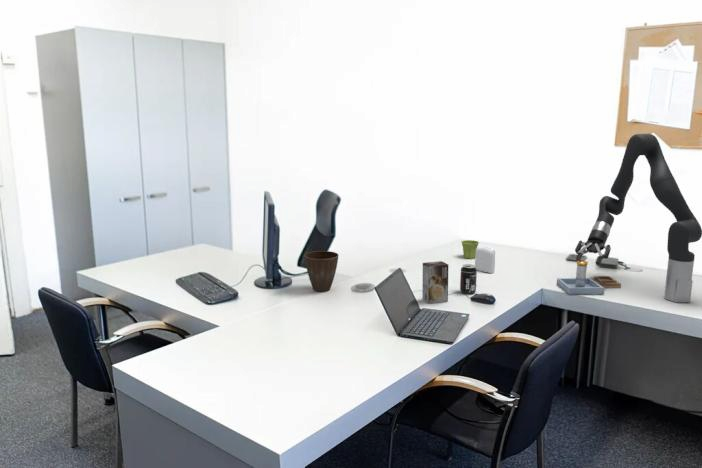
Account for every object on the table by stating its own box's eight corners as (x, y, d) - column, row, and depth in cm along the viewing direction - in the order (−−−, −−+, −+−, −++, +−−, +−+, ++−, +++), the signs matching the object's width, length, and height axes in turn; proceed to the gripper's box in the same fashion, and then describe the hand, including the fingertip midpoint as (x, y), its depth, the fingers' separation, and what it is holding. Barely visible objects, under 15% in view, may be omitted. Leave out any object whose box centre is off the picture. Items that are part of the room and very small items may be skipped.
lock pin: (587, 289, 251) (589, 263, 249) (576, 289, 251) (579, 263, 249) (583, 286, 255) (585, 260, 253) (573, 286, 255) (575, 260, 253)
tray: (603, 294, 246) (604, 288, 245) (569, 294, 246) (569, 288, 245) (589, 284, 261) (590, 278, 260) (556, 284, 261) (557, 278, 260)
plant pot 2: (457, 256, 313) (458, 240, 311) (472, 254, 316) (473, 239, 314) (465, 260, 304) (466, 244, 303) (481, 259, 307) (482, 243, 305)
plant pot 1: (332, 283, 265) (331, 249, 262) (343, 292, 251) (343, 257, 248) (301, 286, 260) (300, 252, 256) (311, 296, 246) (310, 260, 243)
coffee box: (441, 297, 244) (442, 260, 241) (448, 301, 238) (449, 264, 235) (421, 299, 241) (422, 262, 238) (427, 304, 235) (428, 266, 232)
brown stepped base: (620, 287, 255) (621, 281, 255) (598, 288, 255) (598, 281, 255) (610, 281, 265) (611, 275, 264) (589, 281, 265) (589, 275, 264)
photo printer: (473, 269, 286) (474, 245, 284) (478, 268, 289) (479, 244, 286) (490, 274, 278) (491, 249, 276) (495, 272, 281) (496, 247, 278)
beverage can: (457, 290, 252) (457, 264, 250) (470, 289, 255) (471, 263, 252) (465, 295, 246) (466, 268, 244) (478, 293, 248) (480, 266, 246)
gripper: (582, 226, 263) (569, 255, 257) (614, 230, 253) (601, 260, 247) (586, 236, 268) (573, 264, 262) (617, 240, 258) (605, 270, 252)
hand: (587, 262), depth 255 cm, fingers open, 8 cm apart
